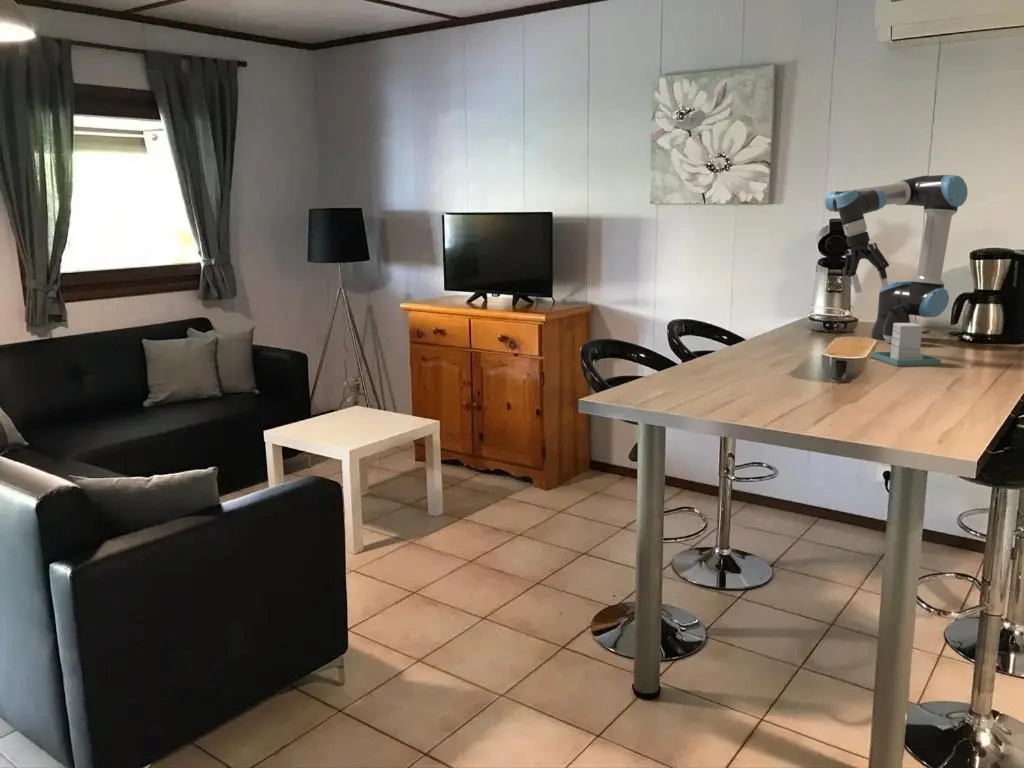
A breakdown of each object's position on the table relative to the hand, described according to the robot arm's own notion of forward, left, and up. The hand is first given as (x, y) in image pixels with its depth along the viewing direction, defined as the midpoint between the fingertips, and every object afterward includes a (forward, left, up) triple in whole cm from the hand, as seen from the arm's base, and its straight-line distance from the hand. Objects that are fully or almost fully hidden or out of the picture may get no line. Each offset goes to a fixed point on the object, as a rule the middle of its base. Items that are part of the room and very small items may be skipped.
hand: (871, 290), depth 302 cm
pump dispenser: (-19, +24, -23) cm, 38 cm away
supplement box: (+17, +5, -23) cm, 29 cm away
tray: (+17, +5, -23) cm, 29 cm away
